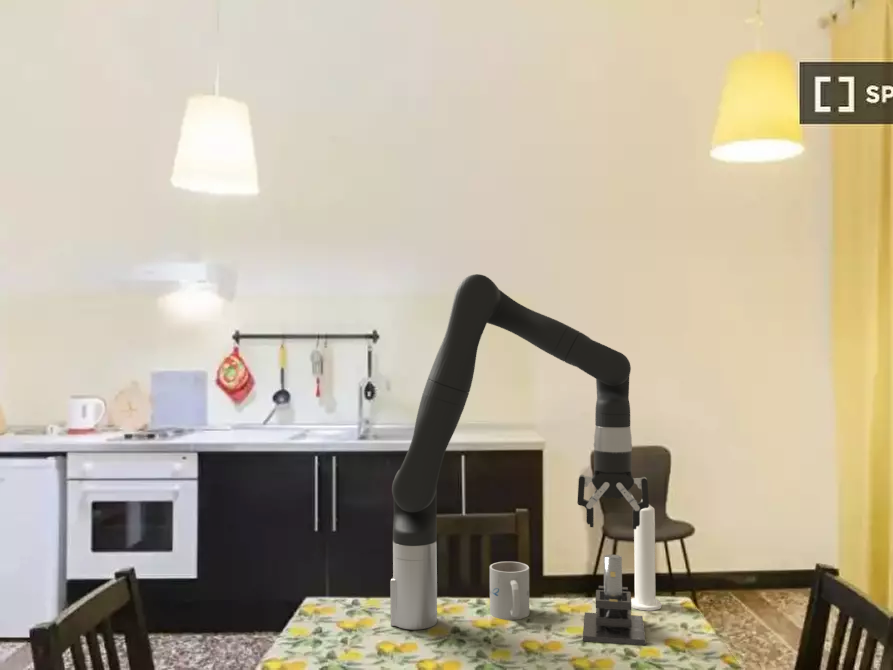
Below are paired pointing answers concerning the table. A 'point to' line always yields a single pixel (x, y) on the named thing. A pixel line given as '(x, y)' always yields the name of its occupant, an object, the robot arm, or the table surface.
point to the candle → (645, 562)
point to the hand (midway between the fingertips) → (612, 527)
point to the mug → (509, 590)
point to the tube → (613, 584)
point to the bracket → (613, 622)
